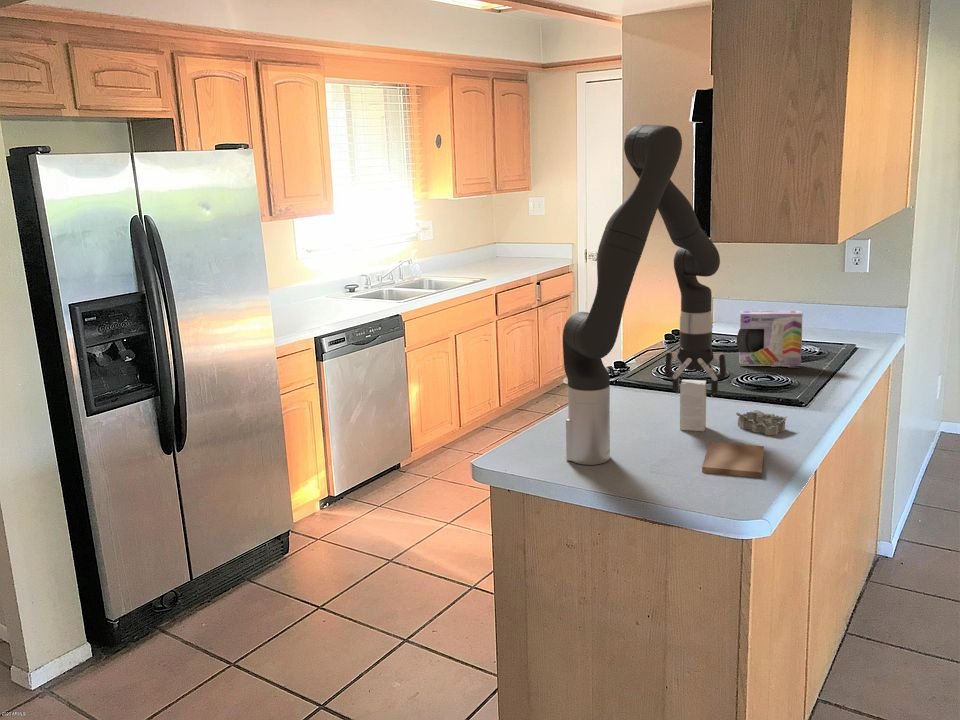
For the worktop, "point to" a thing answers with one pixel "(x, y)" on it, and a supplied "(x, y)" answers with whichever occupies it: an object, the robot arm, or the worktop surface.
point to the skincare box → (693, 405)
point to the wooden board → (734, 459)
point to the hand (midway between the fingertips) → (695, 393)
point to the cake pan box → (770, 337)
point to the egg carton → (762, 422)
